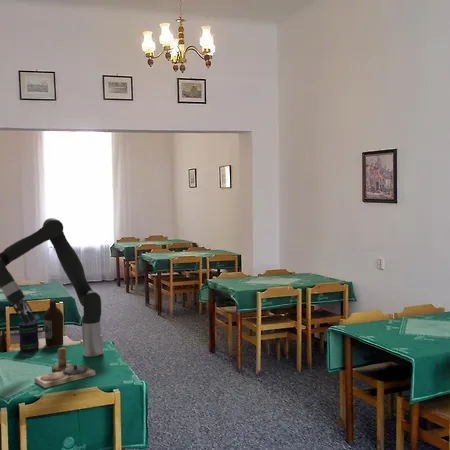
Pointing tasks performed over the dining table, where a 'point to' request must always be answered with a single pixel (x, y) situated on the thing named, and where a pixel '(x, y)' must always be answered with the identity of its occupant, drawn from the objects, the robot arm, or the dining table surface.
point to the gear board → (64, 376)
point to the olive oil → (53, 325)
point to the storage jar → (28, 337)
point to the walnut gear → (61, 361)
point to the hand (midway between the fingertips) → (30, 321)
